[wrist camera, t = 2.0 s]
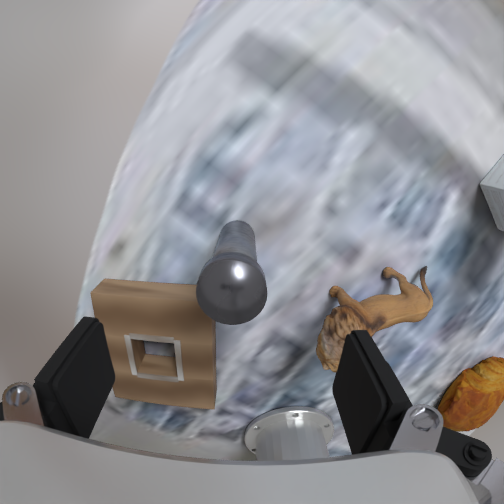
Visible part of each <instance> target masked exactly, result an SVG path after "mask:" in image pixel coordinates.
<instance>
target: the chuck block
mask: <svg viewBox="0 0 504 504" xmlns="http://www.w3.org/2000/svg"><path fill="white" fill-rule="evenodd" d="M196 286H197V285H190V284H173V283H157V282H142V281H128V280H115V279H104V280H103V281H102V282H101V283H100V284H99V285H98V286H97V287H96V288H95V289H94V290H93V291H92V292H91V299H92V304H93V310H94V315H95V318H97V319H98V320H99V322H101V323H102V324H103V327H104V331H105V336H106V340H107V344H108V349H109V353H110V357H111V361H112V364H113V368H114V372H115V382H114V384H113V390H114V394H115V397H119V398H125V399H130V400H136V401H143V402H149V403H156V404H164V405H172V406H181V407H191V408H203V409H215V399H216V390H217V386H216V332H215V320H213V319H211V318H210V317H208V316H207V315H206V314H205V313H204V312H203V310H202V309H201V308H200V306H199V304H198V301H197V298H196ZM143 340H145V341H154V342H164V343H174V347H175V357H170V356H160V355H151V354H145V348H144V341H143Z"/></svg>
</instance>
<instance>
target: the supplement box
mask: <svg viewBox="0 0 504 504" xmlns="http://www.w3.org/2000/svg"><path fill="white" fill-rule="evenodd" d="M480 187H481V189H482V191H483V194H484V196H485V198H486V201H487V203H488V206H489V208H490V211H491V213H492V216H493V218H494V221H495V224H496V226H497V228H498V229H499V230H501V231H504V155H503V156H502V157H501V159H500V160H499V161H498V162H497V164H496V165H495V166H494V167H493V169H492V170H491V171H490V172H489V173H488V174H487V176H486V177H485V178H484V179H483V180H482V181H481V183H480Z"/></svg>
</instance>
